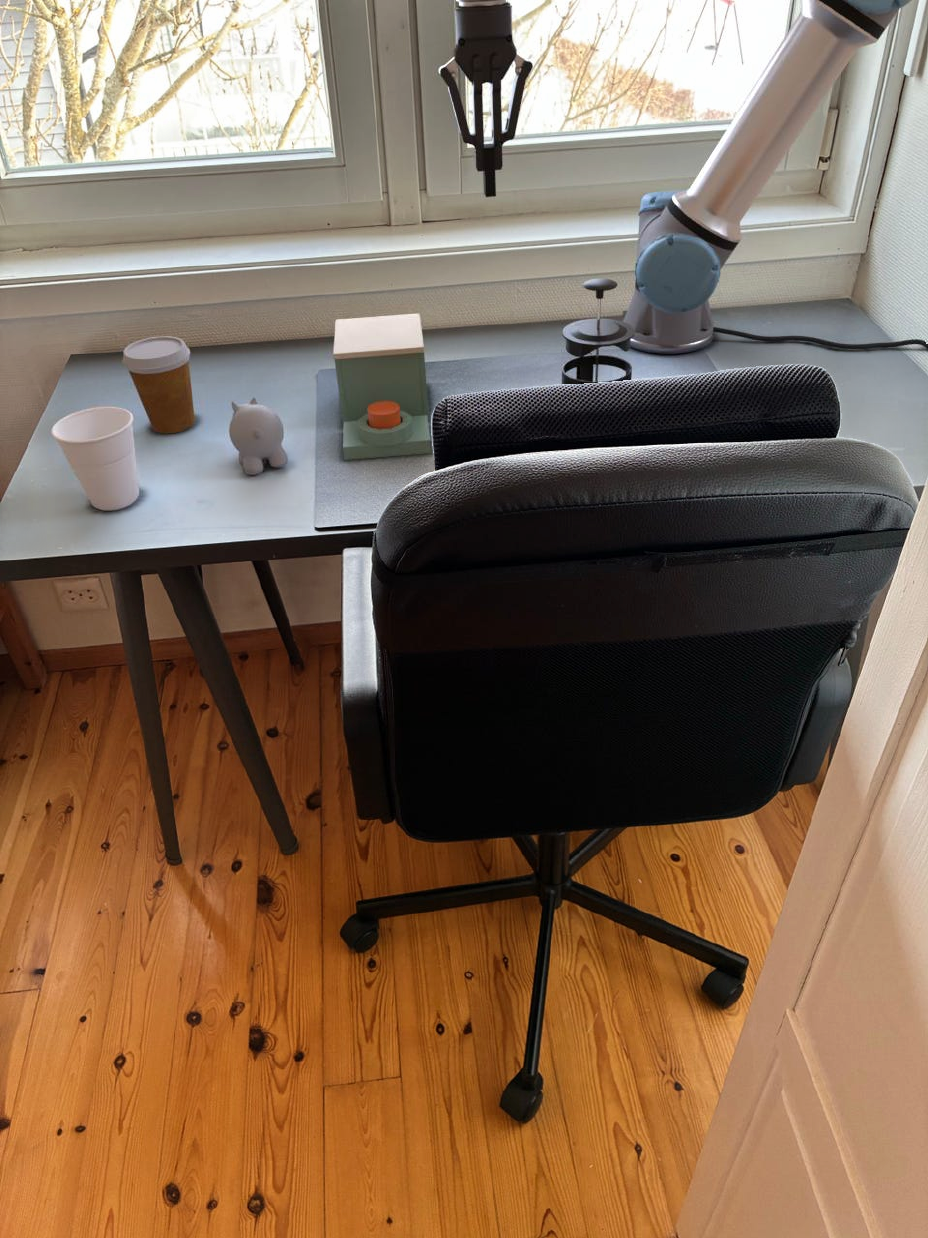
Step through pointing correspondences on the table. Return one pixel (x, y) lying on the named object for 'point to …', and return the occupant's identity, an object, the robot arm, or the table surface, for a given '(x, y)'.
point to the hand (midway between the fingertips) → (489, 194)
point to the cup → (101, 454)
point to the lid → (378, 336)
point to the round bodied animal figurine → (257, 436)
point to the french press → (596, 341)
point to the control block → (386, 438)
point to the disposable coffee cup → (162, 381)
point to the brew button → (384, 415)
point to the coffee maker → (382, 384)
